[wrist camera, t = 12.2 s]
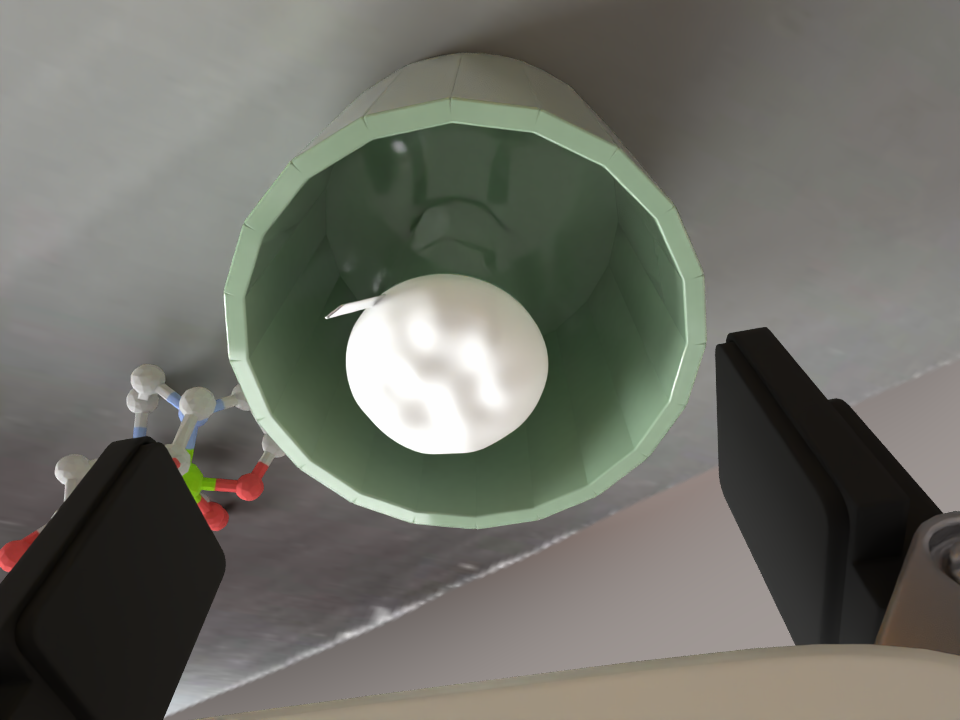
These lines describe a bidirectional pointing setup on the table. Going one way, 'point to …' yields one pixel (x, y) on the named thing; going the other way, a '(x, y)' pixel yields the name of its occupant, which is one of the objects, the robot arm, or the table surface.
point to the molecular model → (192, 415)
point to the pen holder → (540, 263)
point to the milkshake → (448, 337)
